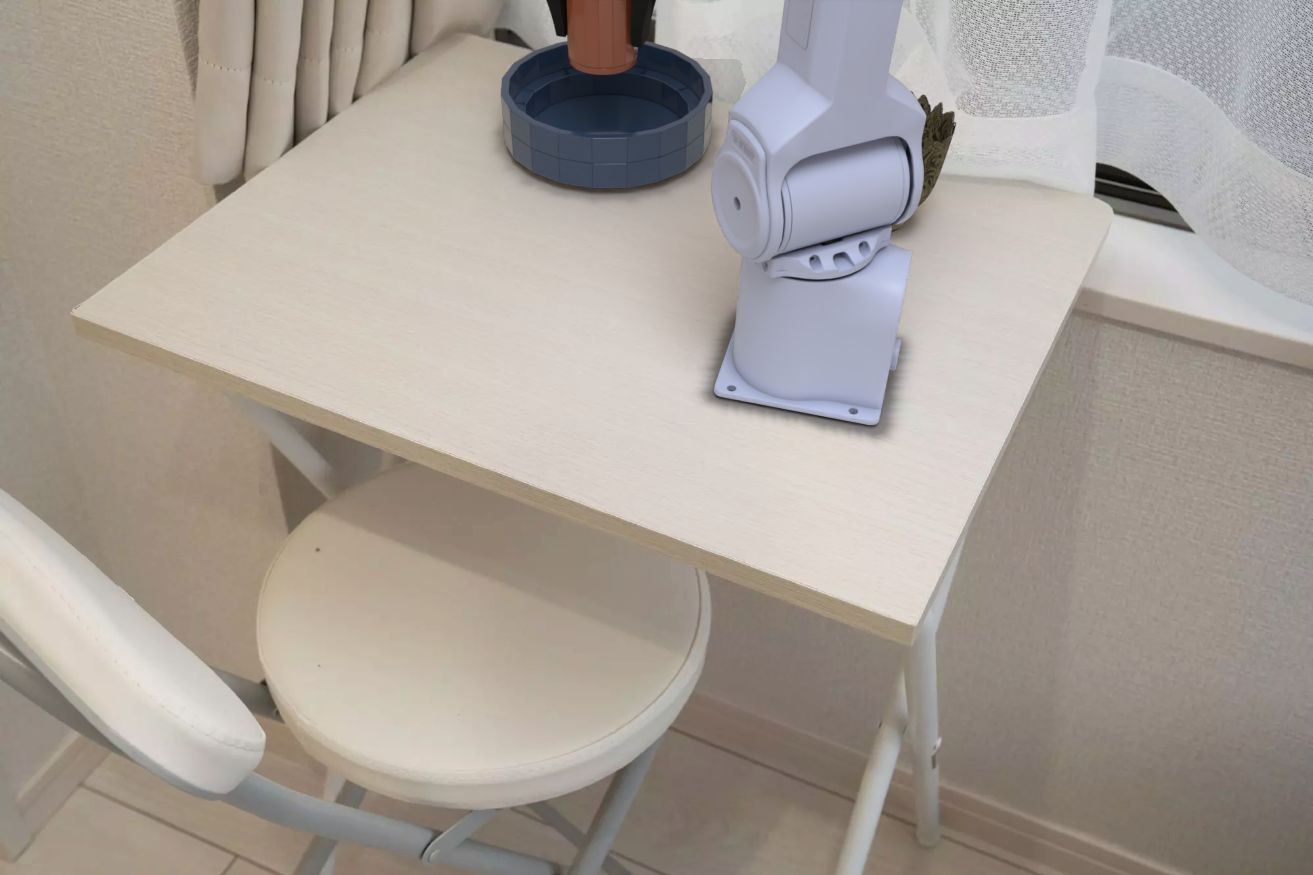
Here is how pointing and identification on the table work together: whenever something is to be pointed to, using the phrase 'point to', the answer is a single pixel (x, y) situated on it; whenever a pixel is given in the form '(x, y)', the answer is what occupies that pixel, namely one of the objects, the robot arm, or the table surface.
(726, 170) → the robot arm
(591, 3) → the cup
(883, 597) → the table surface
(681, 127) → the bowl
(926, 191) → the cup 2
